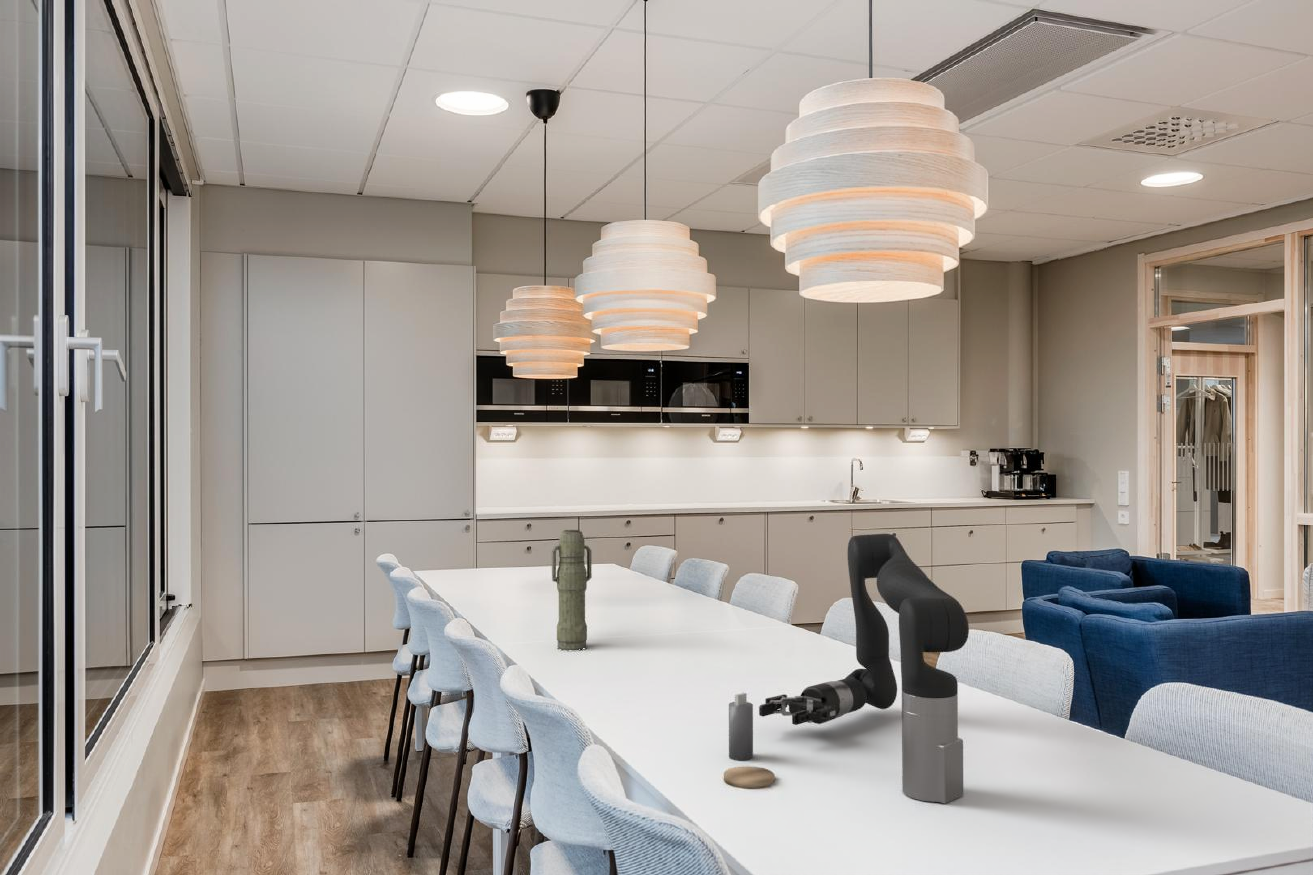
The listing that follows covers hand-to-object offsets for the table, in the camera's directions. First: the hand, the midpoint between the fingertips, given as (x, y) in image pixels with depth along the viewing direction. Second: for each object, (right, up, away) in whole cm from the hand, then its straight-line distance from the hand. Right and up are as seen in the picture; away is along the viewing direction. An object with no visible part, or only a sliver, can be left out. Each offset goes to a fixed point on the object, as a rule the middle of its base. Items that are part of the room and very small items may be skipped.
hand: (776, 715), depth 198 cm
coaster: (-7, -6, -21) cm, 23 cm away
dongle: (-8, -6, -7) cm, 12 cm away
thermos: (-49, -8, +99) cm, 111 cm away
